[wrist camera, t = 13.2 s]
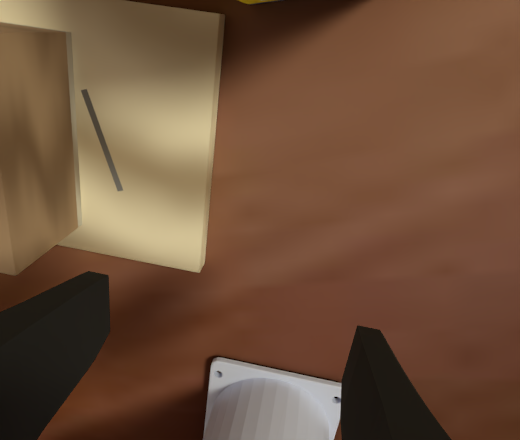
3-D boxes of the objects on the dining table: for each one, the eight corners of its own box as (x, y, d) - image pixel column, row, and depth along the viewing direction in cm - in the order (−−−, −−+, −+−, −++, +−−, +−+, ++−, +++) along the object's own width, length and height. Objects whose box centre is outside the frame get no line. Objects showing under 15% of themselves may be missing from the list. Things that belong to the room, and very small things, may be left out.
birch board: (204, 263, 22) (199, 272, 21) (-85, 206, 24) (-102, 213, 23) (225, 14, 17) (219, 13, 16) (-145, -38, 19) (-169, -42, 18)
